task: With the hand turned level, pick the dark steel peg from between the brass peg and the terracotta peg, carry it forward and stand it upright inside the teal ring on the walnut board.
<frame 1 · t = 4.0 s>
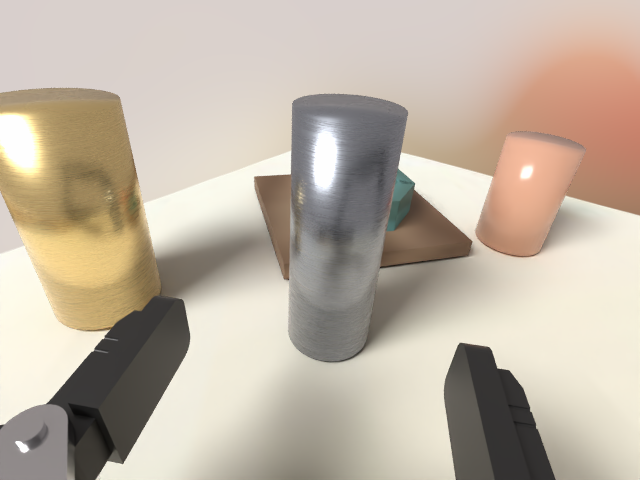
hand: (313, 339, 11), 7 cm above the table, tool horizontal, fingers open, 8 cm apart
ring board: (348, 217, 32), on the table
terracotta peg: (507, 238, 30), on the table
brass peg: (110, 294, 22), on the table
steel peg: (327, 329, 21), on the table
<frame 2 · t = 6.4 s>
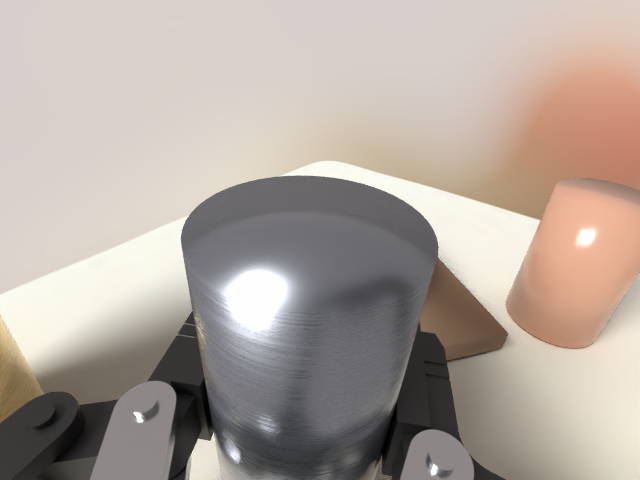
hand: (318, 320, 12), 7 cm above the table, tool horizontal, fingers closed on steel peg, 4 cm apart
ring board: (338, 285, 24), on the table
terracotta peg: (549, 315, 23), on the table
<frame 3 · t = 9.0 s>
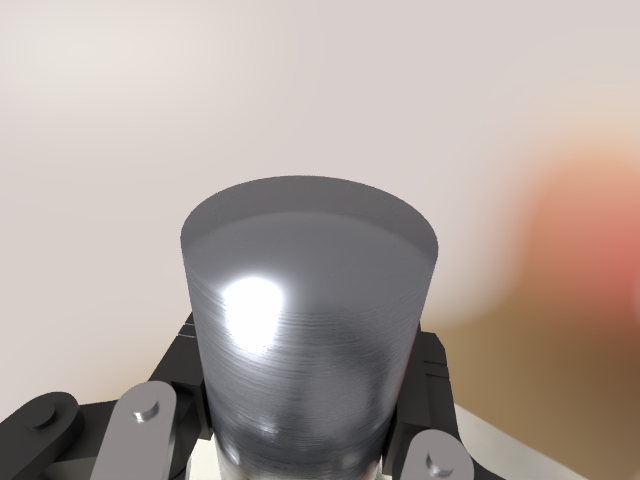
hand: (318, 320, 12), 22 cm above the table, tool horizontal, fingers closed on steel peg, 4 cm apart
when the fingers open (9 cm above the table, at t = 11.8 s): steel peg drops 1 cm, resting on ring board.
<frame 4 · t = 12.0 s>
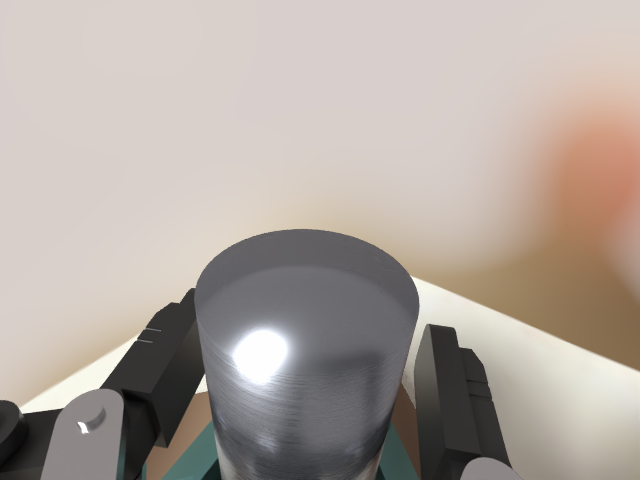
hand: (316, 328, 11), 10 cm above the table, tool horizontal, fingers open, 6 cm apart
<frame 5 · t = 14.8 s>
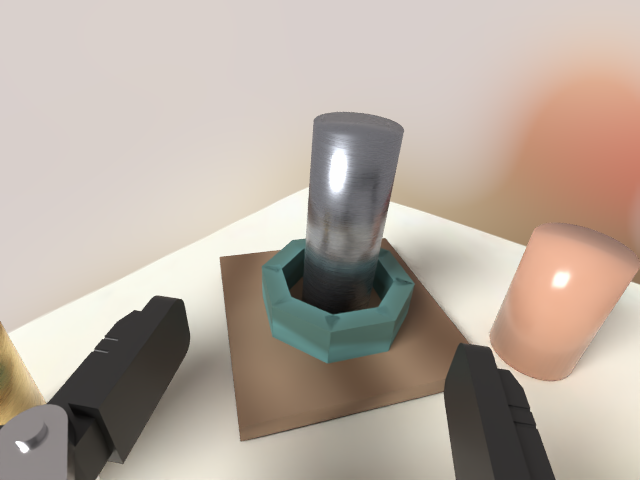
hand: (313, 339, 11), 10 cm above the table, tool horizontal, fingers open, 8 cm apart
ring board: (332, 317, 26), on the table
terracotta peg: (529, 347, 24), on the table
steel peg: (334, 305, 25), point 1 cm above the table, touching ring board
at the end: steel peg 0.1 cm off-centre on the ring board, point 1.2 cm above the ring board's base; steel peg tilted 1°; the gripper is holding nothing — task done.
